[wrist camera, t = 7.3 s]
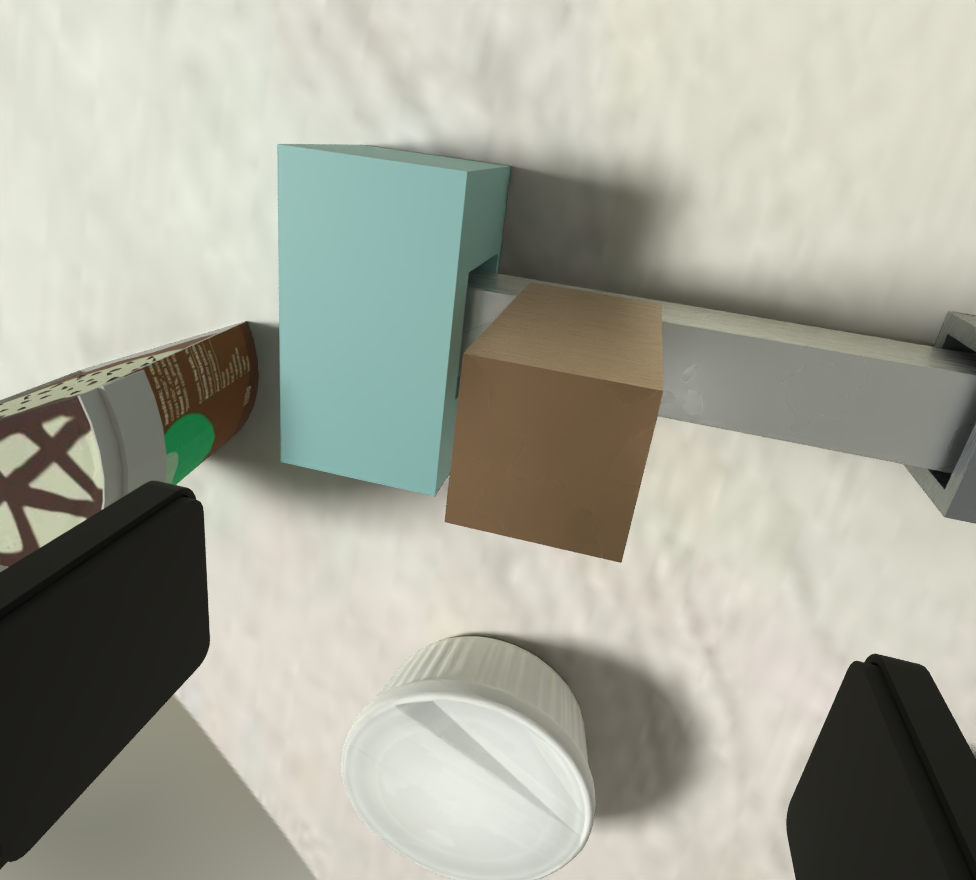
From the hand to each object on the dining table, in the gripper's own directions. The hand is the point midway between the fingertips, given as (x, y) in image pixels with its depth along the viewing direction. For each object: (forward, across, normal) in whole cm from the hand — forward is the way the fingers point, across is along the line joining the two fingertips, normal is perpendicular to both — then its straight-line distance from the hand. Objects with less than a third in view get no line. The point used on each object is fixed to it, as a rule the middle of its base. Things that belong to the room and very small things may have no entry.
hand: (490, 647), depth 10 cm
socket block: (+17, +7, -1) cm, 18 cm away
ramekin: (+18, +2, +19) cm, 26 cm away
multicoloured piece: (+16, -3, -1) cm, 17 cm away
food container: (+18, +17, +6) cm, 25 cm away
